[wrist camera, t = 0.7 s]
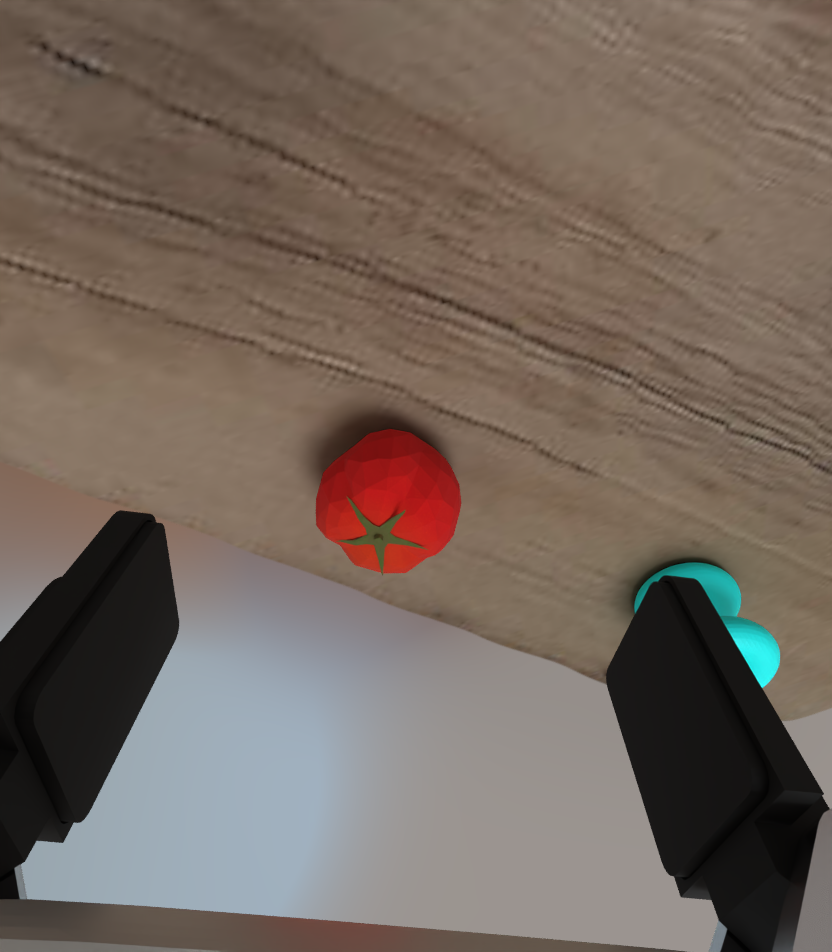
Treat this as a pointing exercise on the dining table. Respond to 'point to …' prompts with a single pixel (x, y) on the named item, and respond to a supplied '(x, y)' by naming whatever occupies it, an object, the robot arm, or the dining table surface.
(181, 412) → the dining table surface
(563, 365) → the dining table surface
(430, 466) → the tomato
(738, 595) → the donuts
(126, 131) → the dining table surface
